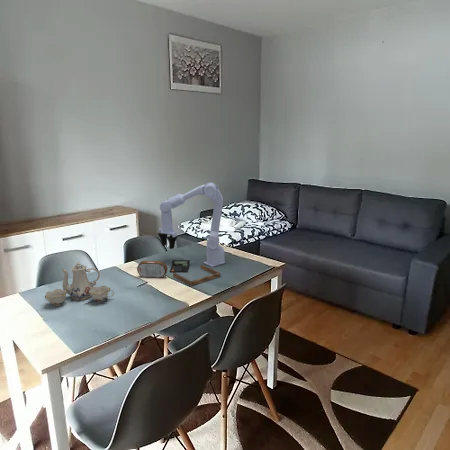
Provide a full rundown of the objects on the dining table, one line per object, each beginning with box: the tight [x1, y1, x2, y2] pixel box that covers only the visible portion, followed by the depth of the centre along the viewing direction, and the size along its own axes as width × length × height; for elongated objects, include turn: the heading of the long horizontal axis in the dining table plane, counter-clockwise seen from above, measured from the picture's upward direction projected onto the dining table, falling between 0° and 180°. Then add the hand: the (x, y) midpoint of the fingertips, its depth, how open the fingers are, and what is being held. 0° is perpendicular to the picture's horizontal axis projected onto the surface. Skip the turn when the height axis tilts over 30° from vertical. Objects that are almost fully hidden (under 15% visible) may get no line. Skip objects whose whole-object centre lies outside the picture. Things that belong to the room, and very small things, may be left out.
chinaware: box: [44, 261, 115, 307], centre depth 159 cm, size 28×17×17 cm, turn 106°
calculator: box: [168, 259, 191, 274], centre depth 195 cm, size 9×12×3 cm
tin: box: [136, 260, 168, 279], centre depth 183 cm, size 15×3×8 cm, turn 84°
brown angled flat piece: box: [172, 264, 222, 287], centre depth 184 cm, size 18×16×2 cm
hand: (168, 247), depth 201 cm, fingers open, 7 cm apart
